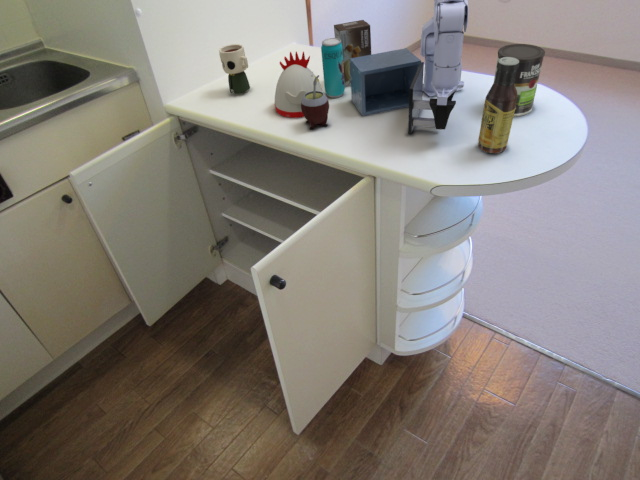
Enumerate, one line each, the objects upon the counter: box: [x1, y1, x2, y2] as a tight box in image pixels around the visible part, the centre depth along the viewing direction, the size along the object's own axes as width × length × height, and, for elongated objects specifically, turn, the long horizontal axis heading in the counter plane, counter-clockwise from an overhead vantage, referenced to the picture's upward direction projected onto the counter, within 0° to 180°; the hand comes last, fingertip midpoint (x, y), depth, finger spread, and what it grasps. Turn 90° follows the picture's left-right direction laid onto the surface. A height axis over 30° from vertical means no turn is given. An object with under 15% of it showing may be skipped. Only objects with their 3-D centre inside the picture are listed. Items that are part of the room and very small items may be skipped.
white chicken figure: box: [274, 51, 324, 119], centre depth 125 cm, size 14×14×15 cm
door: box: [407, 61, 436, 135], centre depth 113 cm, size 8×16×12 cm, turn 162°
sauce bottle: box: [478, 57, 519, 154], centre depth 98 cm, size 6×6×20 cm
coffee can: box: [493, 43, 546, 117], centre depth 113 cm, size 10×10×14 cm
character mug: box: [218, 43, 251, 95], centre depth 137 cm, size 11×7×13 cm, turn 53°
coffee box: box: [333, 19, 372, 88], centre depth 134 cm, size 9×6×16 cm
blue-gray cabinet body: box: [350, 47, 422, 117], centre depth 123 cm, size 10×16×12 cm, turn 103°
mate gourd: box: [301, 74, 330, 131], centre depth 116 cm, size 8×8×15 cm
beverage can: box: [320, 37, 346, 99], centre depth 129 cm, size 6×6×15 cm
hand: (442, 120), depth 109 cm, fingers open, 7 cm apart
